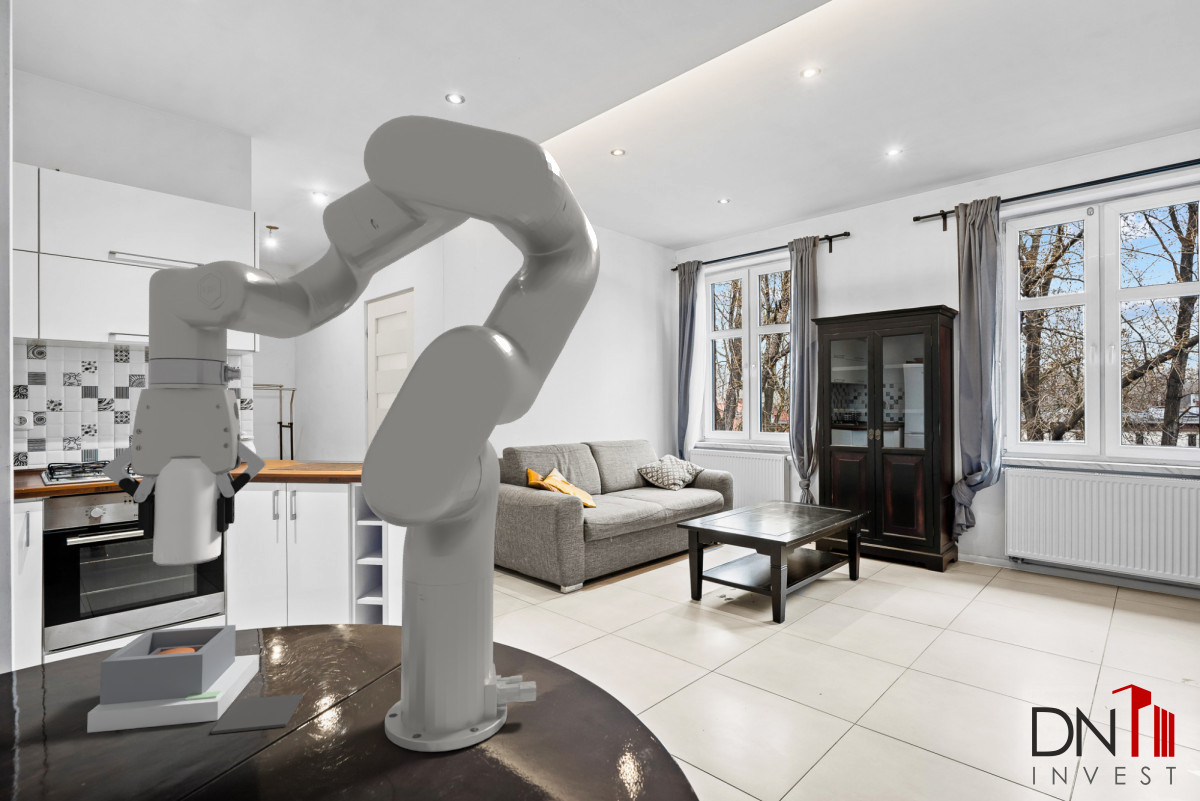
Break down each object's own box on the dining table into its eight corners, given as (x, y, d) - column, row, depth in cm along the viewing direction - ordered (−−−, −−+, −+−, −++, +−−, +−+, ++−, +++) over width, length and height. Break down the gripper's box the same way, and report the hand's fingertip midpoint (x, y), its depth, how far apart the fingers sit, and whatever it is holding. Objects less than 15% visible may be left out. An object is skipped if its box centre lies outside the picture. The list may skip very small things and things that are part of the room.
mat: (303, 696, 70) (303, 693, 70) (285, 726, 63) (285, 723, 63) (236, 702, 68) (236, 699, 68) (211, 734, 61) (211, 731, 61)
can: (141, 562, 68) (145, 456, 69) (203, 552, 74) (205, 453, 74) (170, 569, 65) (173, 457, 65) (232, 558, 70) (234, 455, 71)
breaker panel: (258, 670, 77) (259, 619, 77) (217, 720, 64) (218, 658, 64) (152, 678, 74) (153, 625, 75) (87, 732, 62) (88, 668, 62)
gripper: (276, 380, 77) (276, 522, 76) (108, 379, 70) (106, 534, 69) (269, 376, 70) (269, 532, 69) (82, 374, 63) (80, 546, 62)
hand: (187, 531), depth 69 cm, fingers closed on can, 6 cm apart
